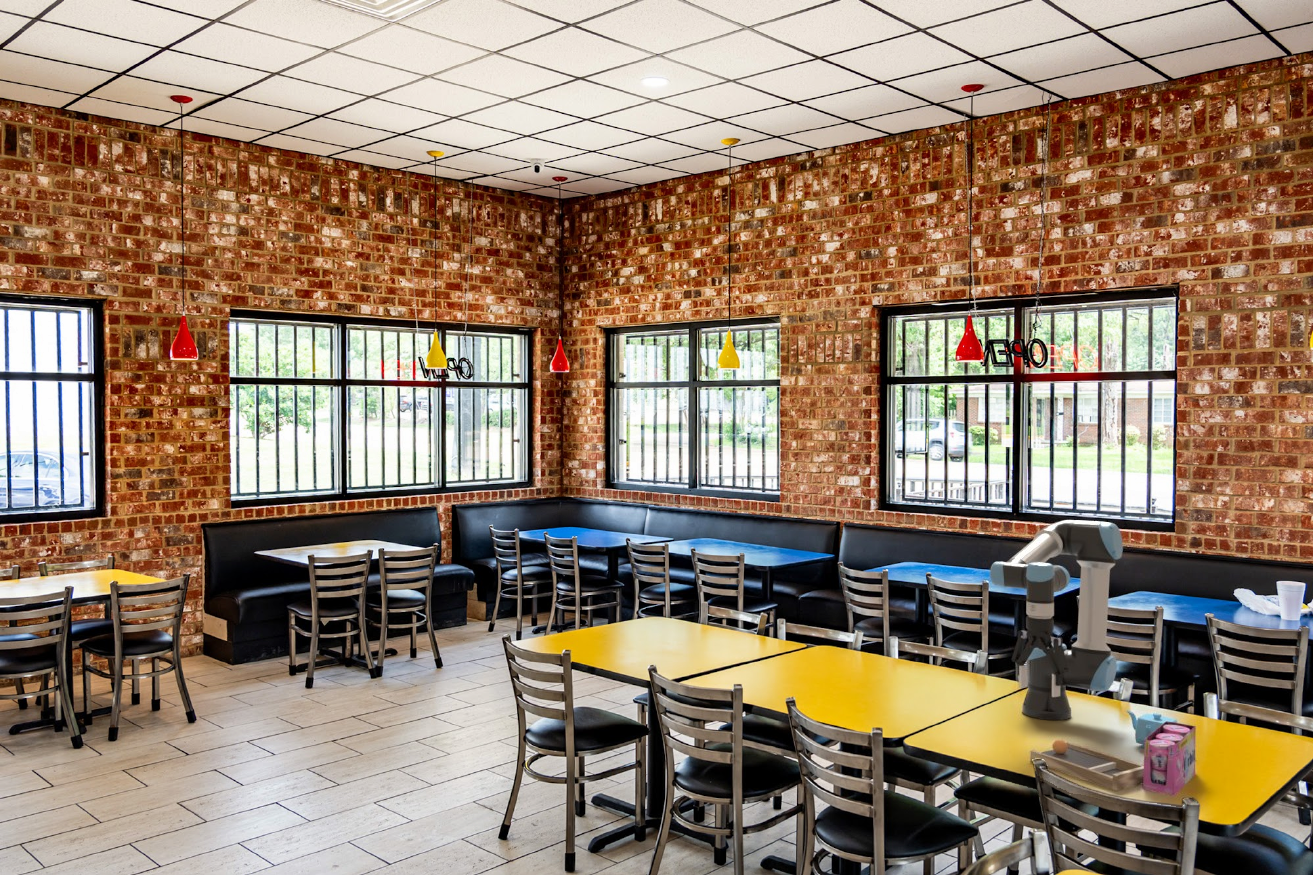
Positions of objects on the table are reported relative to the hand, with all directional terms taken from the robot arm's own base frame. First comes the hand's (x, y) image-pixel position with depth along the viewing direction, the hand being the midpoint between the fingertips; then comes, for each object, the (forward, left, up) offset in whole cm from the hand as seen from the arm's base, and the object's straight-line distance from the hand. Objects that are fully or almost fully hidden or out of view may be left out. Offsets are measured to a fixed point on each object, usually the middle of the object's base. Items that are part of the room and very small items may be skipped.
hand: (1039, 691), depth 297 cm
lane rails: (0, +17, -18) cm, 25 cm away
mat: (0, +16, -18) cm, 24 cm away
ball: (0, +7, -14) cm, 16 cm away
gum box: (-11, +33, -19) cm, 40 cm away
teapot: (-34, +14, -18) cm, 41 cm away
